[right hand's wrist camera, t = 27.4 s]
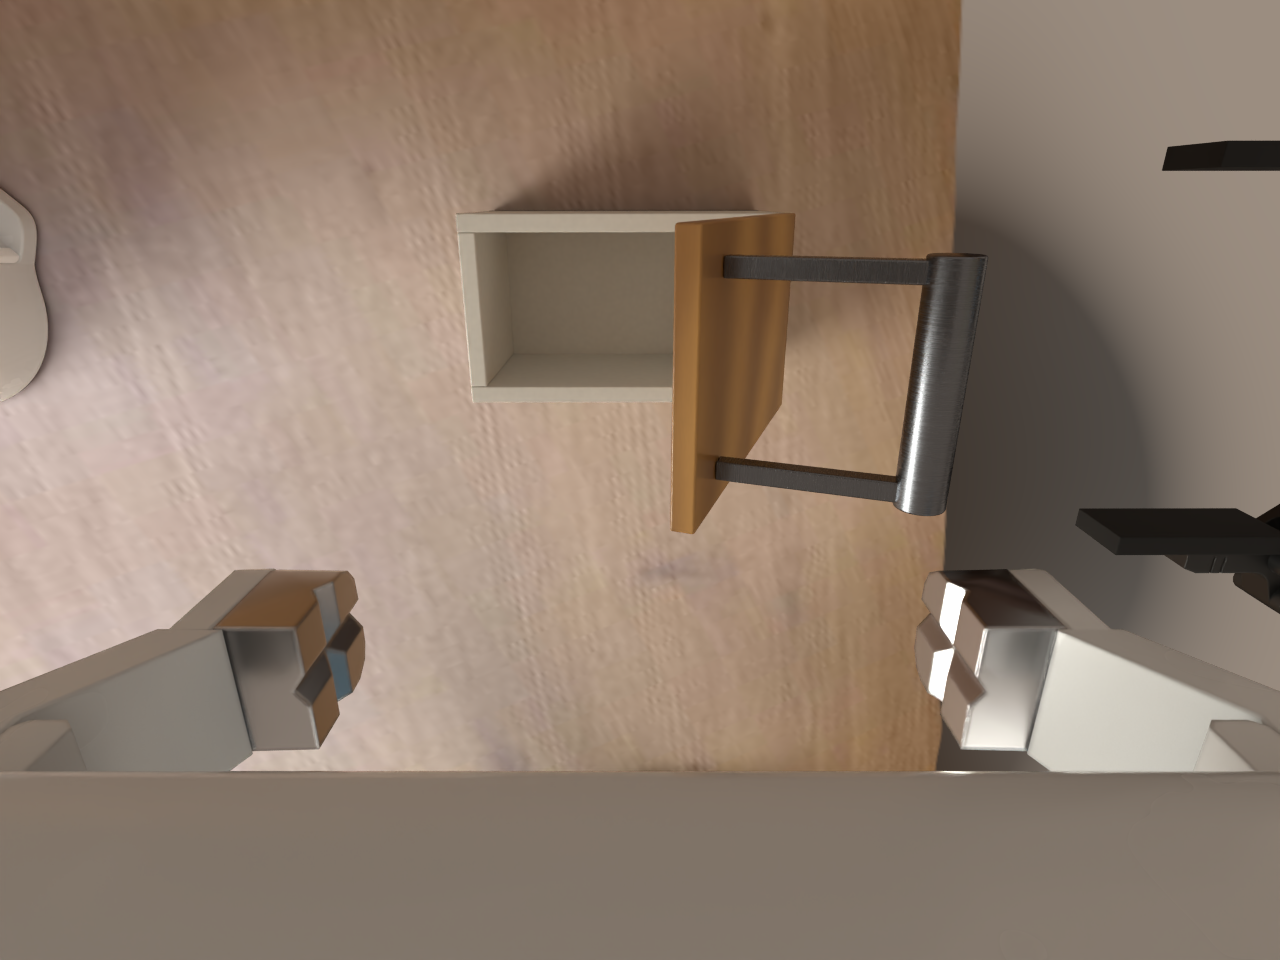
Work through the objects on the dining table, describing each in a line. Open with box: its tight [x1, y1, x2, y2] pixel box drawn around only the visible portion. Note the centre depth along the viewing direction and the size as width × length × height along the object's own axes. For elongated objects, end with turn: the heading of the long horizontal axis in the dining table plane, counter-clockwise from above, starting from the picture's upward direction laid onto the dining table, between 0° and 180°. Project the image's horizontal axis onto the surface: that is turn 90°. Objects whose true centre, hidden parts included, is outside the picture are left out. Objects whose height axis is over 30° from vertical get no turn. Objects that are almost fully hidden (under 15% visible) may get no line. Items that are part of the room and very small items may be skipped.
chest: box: [456, 210, 778, 402], centre depth 42 cm, size 16×10×10 cm, turn 90°
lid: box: [670, 213, 988, 534], centre depth 28 cm, size 17×10×8 cm
